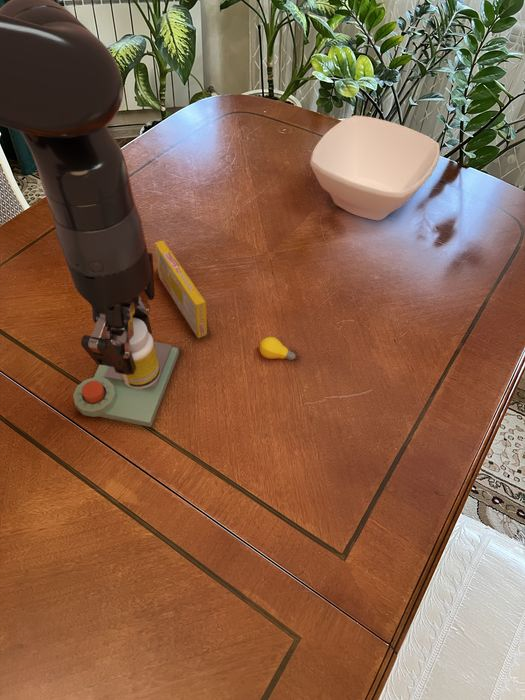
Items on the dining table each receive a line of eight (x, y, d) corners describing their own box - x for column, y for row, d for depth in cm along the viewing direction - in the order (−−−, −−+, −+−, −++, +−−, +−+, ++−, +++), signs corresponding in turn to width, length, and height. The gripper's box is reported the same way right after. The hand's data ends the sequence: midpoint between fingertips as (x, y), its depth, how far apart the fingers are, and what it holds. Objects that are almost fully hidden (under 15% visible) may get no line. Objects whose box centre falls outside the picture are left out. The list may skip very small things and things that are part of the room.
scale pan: (156, 387, 85) (155, 386, 84) (104, 377, 86) (104, 376, 85) (172, 345, 89) (172, 344, 89) (124, 336, 90) (123, 335, 90)
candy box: (209, 334, 95) (206, 301, 88) (197, 339, 94) (193, 306, 87) (169, 273, 103) (163, 238, 96) (158, 277, 102) (151, 242, 96)
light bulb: (258, 345, 93) (265, 329, 91) (291, 359, 94) (300, 343, 92) (254, 358, 91) (262, 341, 88) (289, 371, 91) (298, 355, 89)
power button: (100, 405, 83) (98, 399, 82) (80, 401, 83) (78, 395, 82) (108, 388, 85) (105, 382, 84) (89, 384, 85) (86, 378, 84)
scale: (148, 432, 83) (145, 422, 81) (72, 417, 85) (66, 406, 82) (179, 352, 92) (177, 341, 90) (109, 339, 94) (105, 328, 91)
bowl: (394, 254, 107) (408, 204, 97) (291, 212, 114) (295, 162, 104) (438, 191, 118) (453, 141, 109) (342, 156, 125) (349, 106, 116)
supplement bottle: (168, 370, 71) (159, 327, 64) (142, 396, 68) (130, 354, 61) (139, 352, 72) (127, 308, 65) (113, 377, 70) (98, 334, 63)
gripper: (96, 190, 58) (126, 302, 71) (31, 292, 49) (79, 397, 63) (167, 201, 57) (184, 313, 71) (112, 307, 48) (143, 410, 62)
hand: (134, 352), depth 67 cm, fingers closed on supplement bottle, 4 cm apart
